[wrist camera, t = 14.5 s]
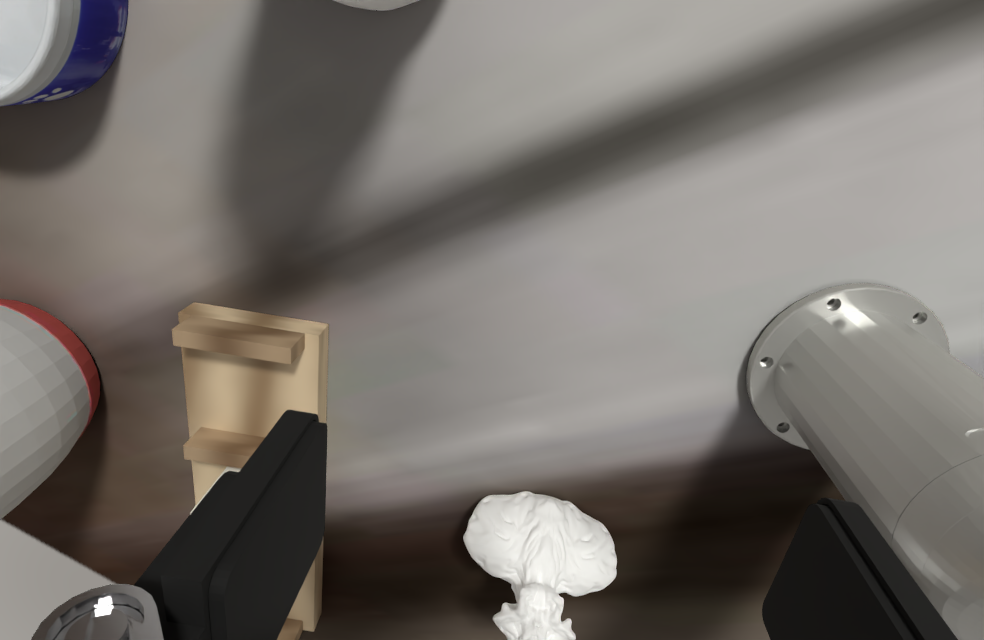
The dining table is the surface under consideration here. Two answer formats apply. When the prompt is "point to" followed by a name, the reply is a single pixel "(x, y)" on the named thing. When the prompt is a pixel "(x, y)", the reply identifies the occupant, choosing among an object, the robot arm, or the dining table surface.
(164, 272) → the dining table surface
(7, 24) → the dog bowl
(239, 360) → the wooden rack
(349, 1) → the white crystal cluster
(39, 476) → the citrus juicer
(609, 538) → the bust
